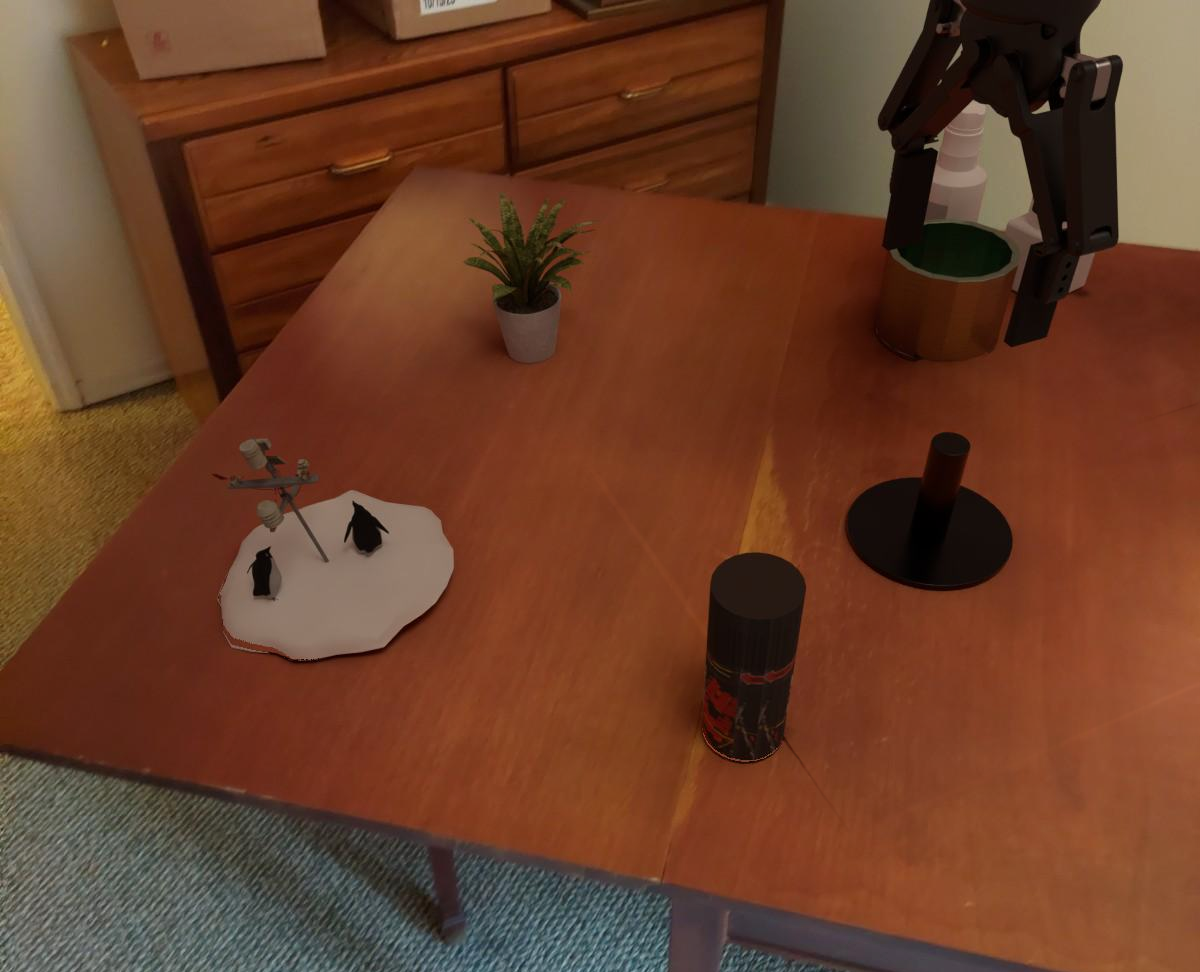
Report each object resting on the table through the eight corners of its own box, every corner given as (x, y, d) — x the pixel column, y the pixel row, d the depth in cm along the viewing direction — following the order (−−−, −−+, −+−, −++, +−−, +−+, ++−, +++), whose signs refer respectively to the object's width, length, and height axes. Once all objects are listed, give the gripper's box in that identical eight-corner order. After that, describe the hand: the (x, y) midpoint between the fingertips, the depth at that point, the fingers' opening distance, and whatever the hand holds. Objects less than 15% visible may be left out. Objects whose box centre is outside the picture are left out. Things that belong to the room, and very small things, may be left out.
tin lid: (1044, 564, 88) (1080, 468, 80) (906, 616, 84) (931, 520, 77) (943, 470, 97) (967, 376, 89) (814, 514, 93) (829, 419, 86)
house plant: (571, 406, 105) (561, 253, 93) (444, 383, 109) (419, 233, 97) (616, 330, 114) (612, 183, 103) (497, 312, 118) (481, 167, 106)
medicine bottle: (1085, 286, 118) (1120, 181, 109) (1042, 307, 115) (1074, 200, 106) (1033, 261, 122) (1063, 157, 113) (990, 280, 119) (1018, 175, 111)
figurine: (447, 486, 95) (398, 332, 83) (464, 636, 83) (410, 481, 71) (228, 533, 95) (148, 385, 83) (213, 691, 83) (116, 544, 71)
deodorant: (794, 756, 75) (818, 612, 64) (712, 769, 75) (723, 626, 64) (771, 692, 79) (790, 546, 69) (693, 704, 79) (700, 559, 68)
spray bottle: (919, 247, 125) (950, 88, 112) (974, 263, 122) (1013, 101, 109) (894, 272, 121) (924, 111, 108) (951, 289, 118) (988, 125, 105)
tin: (1022, 346, 110) (1047, 262, 103) (921, 378, 107) (940, 293, 100) (947, 290, 118) (966, 208, 111) (851, 318, 115) (864, 235, 108)
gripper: (854, -119, 63) (813, 221, 78) (1162, 4, 47) (1035, 402, 62) (960, -135, 65) (900, 200, 80) (1292, -22, 49) (1137, 371, 64)
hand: (959, 289), depth 71 cm, fingers open, 13 cm apart
